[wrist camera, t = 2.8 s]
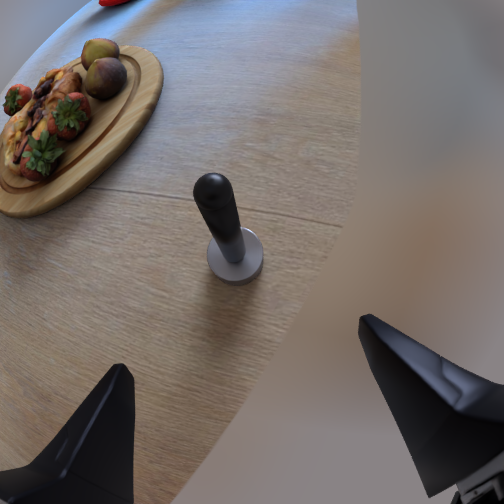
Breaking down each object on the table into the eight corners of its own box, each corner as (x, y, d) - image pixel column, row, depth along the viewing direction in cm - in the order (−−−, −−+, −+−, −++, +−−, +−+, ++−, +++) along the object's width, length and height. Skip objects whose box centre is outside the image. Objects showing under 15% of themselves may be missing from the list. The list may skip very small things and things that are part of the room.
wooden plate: (-16, 162, 32) (-42, 140, 24) (101, 43, 38) (87, 14, 30) (32, 274, 25) (-19, 254, 17) (215, 81, 31) (205, 29, 23)
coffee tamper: (273, 251, 24) (280, 166, 12) (245, 295, 23) (222, 250, 11) (230, 226, 25) (199, 130, 13) (202, 268, 24) (141, 201, 12)
